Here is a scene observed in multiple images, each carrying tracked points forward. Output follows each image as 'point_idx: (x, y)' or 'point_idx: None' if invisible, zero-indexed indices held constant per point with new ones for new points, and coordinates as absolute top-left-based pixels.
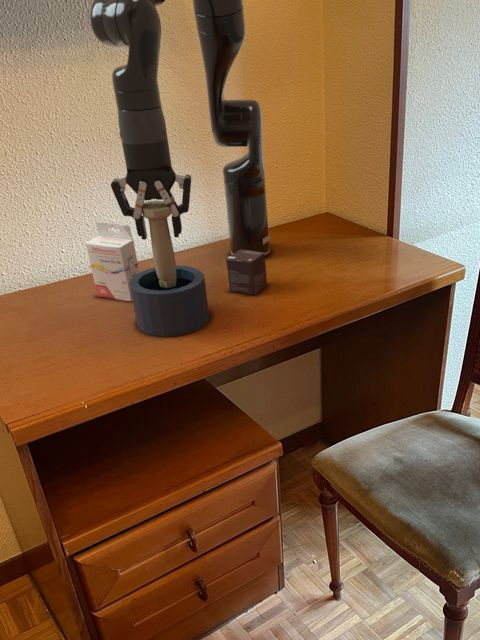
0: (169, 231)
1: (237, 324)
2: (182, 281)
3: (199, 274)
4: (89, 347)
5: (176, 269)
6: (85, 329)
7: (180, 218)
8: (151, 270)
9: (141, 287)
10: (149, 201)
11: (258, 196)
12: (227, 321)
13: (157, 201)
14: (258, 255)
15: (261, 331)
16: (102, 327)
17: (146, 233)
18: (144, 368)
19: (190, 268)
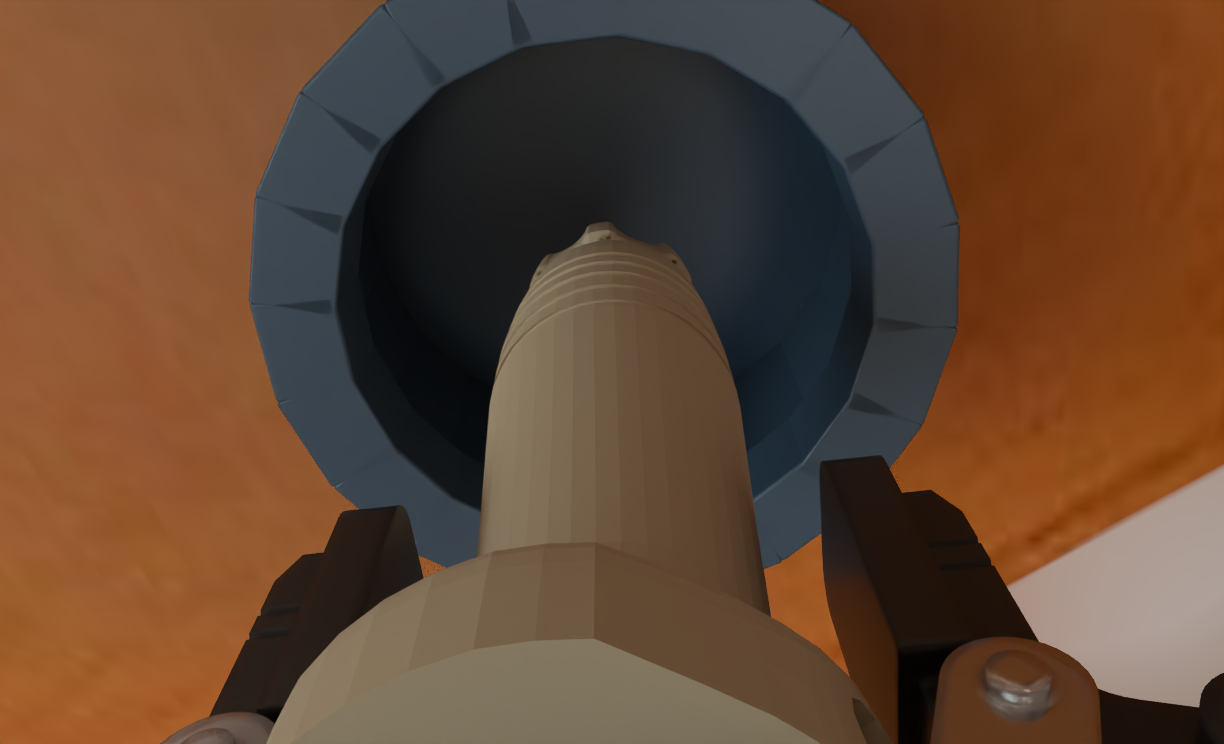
0: (764, 577)
1: (1057, 282)
2: None
3: (915, 220)
4: (174, 534)
5: (654, 42)
6: (27, 315)
7: (1022, 629)
8: (391, 89)
9: (418, 481)
10: (382, 703)
11: None
12: (991, 234)
13: (604, 713)
14: None
15: (1202, 382)
16: (131, 290)
17: (400, 541)
18: None
19: (811, 48)
